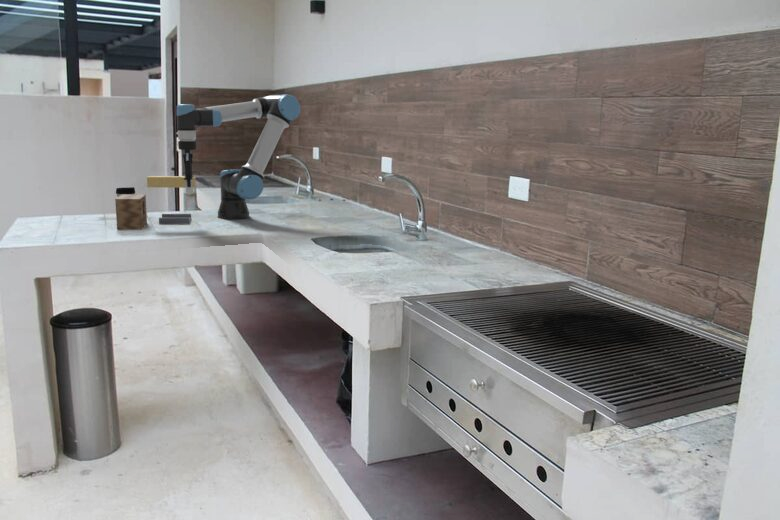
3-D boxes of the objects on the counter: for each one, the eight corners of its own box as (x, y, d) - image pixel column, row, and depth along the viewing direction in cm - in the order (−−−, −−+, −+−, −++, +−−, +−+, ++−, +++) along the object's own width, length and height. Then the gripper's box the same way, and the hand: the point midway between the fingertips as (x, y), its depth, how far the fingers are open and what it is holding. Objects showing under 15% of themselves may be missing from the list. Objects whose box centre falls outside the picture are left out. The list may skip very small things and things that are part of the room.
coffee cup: (132, 221, 297) (130, 188, 294) (114, 220, 297) (112, 188, 294) (139, 218, 306) (138, 186, 302) (121, 218, 306) (120, 186, 302)
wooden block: (147, 223, 294) (145, 194, 291) (141, 229, 279) (140, 199, 276) (123, 223, 292) (121, 194, 289) (117, 229, 277) (115, 199, 274)
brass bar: (195, 186, 292) (195, 176, 291) (195, 187, 287) (194, 177, 286) (148, 186, 287) (147, 175, 286) (147, 187, 283) (146, 176, 282)
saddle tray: (191, 219, 308) (191, 213, 308) (189, 223, 296) (189, 218, 295) (162, 219, 305) (162, 213, 305) (159, 224, 293) (158, 218, 292)
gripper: (179, 139, 292) (182, 191, 297) (176, 141, 275) (179, 196, 280) (196, 139, 294) (199, 191, 299) (195, 141, 277) (197, 196, 282)
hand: (189, 193), depth 290 cm, fingers closed on brass bar, 4 cm apart
